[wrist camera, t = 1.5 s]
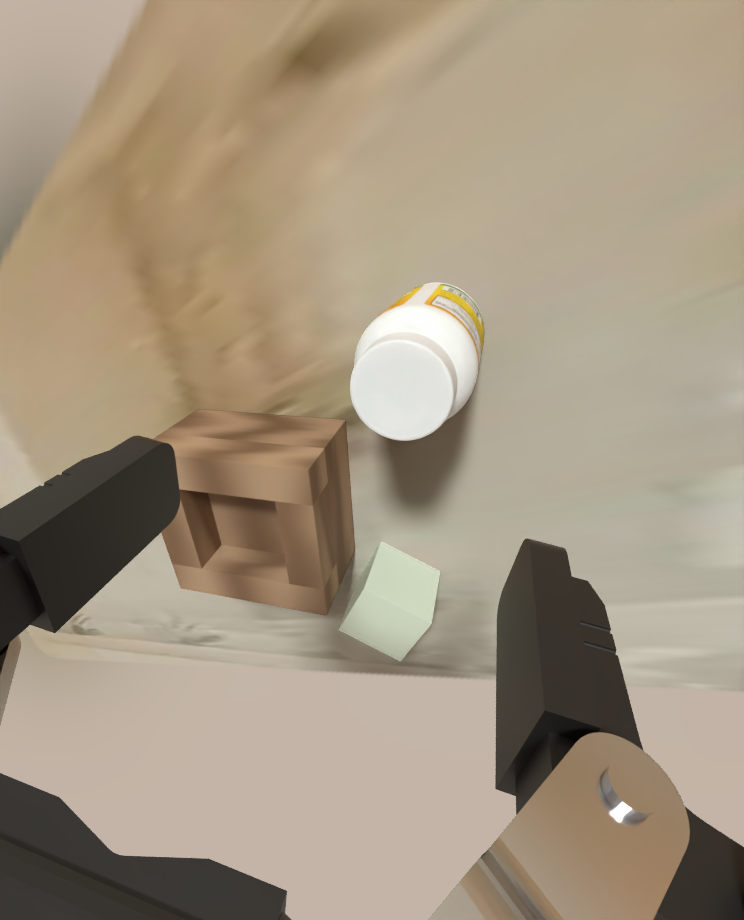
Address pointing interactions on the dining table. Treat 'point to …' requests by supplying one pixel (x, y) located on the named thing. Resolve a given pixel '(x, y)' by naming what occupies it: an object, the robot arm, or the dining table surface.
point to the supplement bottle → (418, 362)
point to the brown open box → (261, 507)
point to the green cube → (392, 602)
